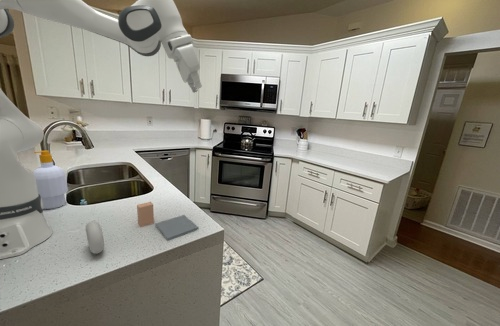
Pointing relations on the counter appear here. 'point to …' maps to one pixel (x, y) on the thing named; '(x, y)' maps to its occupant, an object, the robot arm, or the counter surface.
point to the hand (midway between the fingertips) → (197, 90)
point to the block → (145, 214)
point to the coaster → (176, 227)
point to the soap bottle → (50, 182)
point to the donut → (95, 237)
